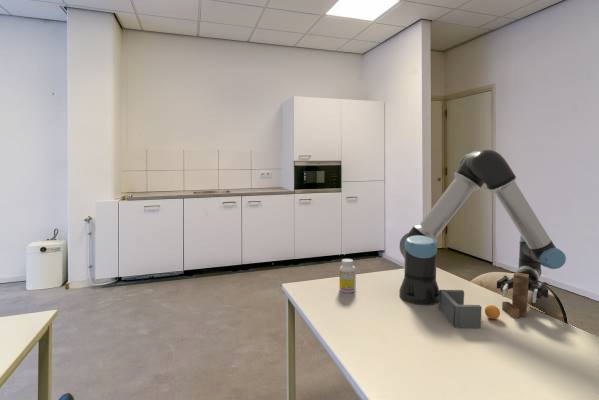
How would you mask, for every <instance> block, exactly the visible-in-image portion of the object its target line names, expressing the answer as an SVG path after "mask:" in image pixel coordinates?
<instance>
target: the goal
mask: <svg viewBox="0 0 599 400" xmlns="http://www.w3.org/2000/svg"><path fill="white" fill-rule="evenodd" d="M464 302H465V291H464V290H463V289H439V302H438V309H439V311H441V313H442V314H443V315H444V316H445V318H446V319H447V320H448V322H449V323H450V324H451V325H452V326H453V328H456V329H458V328H459V329H481V328H482V327H481V326H482V306H481V305H480V304H464Z"/></svg>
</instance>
